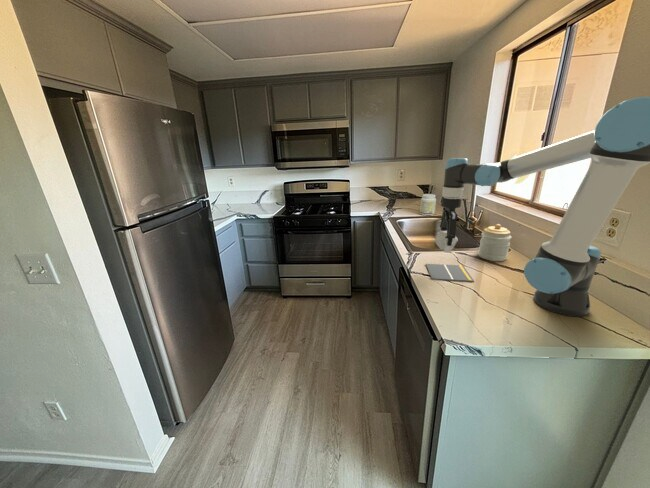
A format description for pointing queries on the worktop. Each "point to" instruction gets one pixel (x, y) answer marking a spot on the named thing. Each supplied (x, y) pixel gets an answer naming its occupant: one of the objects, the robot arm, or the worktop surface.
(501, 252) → the jar
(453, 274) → the mat
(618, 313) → the worktop surface
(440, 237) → the die
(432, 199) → the supplement tub
